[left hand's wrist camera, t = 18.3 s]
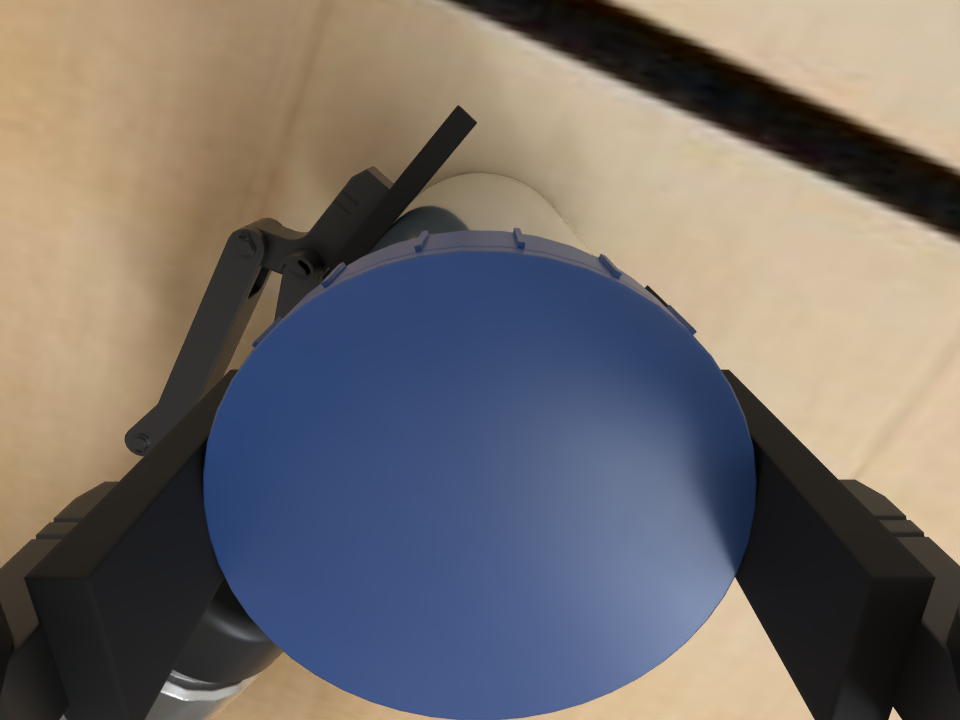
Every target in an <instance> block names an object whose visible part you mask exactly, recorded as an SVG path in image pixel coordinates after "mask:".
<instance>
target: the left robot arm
mask: <svg viewBox="0 0 960 720" xmlns="http://www.w3.org/2000/svg"><path fill="white" fill-rule="evenodd" d="M721 371H722V373H723V374H724V376H725V377H726V379H727V380H728V382H729V383H730V385H731V387H732V389H733V391H734V393H735V396H736V398H737V400H738V401H739V404H740V407H741V409H742V411H743V413H744V416H745V418H746V422H747V426H748V430H749V433H750V437H751V441H752V444H753V448H754V457H755V467H756V476H757V488H756V506H755V513H754V518H753V523H752V528H751V533H750V538H749V543H748V546H747V548H746V551H745V554H744V557H743V559H742V562H741V565H740V567H739V570H738V572H737V574H736V576H735V578H736V579H737V581H738V583H739V585H740V587H741V588H742V590H743V592H744V594H745V596H746V597H747V599H748V601H749V603H750V605H751V606H752V608H753V610H754V612H755V613H756V615H757V617H758V619H759V621H760V622H761V624H762V626H763V628H764V630H765V631H766V633H767V635H768V637H769V639H770V640H771V642H772V644H773V646H774V648H775V649H776V651H777V653H778V655H779V657H780V658H781V660H782V662H783V664H784V665H785V667H786V669H787V671H788V673H789V674H790V676H791V678H792V680H793V682H794V683H795V685H796V687H797V689H798V691H799V692H800V694H801V696H802V698H803V700H804V701H805V703H806V705H807V707H808V709H809V710H810V712H811V714H812V716H813V717H814V719H815V720H888V719H889V716H890V713H891V710H892V707H894V709H895V710H896V711H897V713H898V714H899V716H900V717H901V718H902V720H960V566H959V565H958V564H957V563H956V562H955V561H954V560H953V559H952V558H951V557H949V556H948V555H947V554H946V553H945V552H944V551H943V550H942V549H941V548H940V547H939V546H938V545H937V544H936V543H934V542H933V541H932V540H931V539H930V538H929V537H924V532H923V531H922V530H920V529H919V528H918V527H917V526H916V525H915V524H914V523H913V522H912V521H911V520H907V519H906V516H905V515H904V514H903V513H902V512H901V511H900V510H899V509H898V508H897V507H896V506H895V505H894V504H893V503H891V502H890V501H889V500H888V499H887V498H886V497H885V496H883V495H881V494H880V493H878V492H876V491H874V490H873V489H871V488H869V487H867V486H865V485H864V484H862V483H860V482H858V481H857V480H838V479H837V478H836V477H835V476H834V475H833V474H832V473H831V472H830V471H829V470H828V469H827V468H826V467H825V466H824V465H823V464H822V463H821V462H820V461H819V460H818V459H817V458H816V457H815V456H814V455H813V454H812V453H811V452H810V451H809V450H808V449H807V448H806V447H805V446H804V445H803V444H802V443H801V442H800V441H799V440H798V439H797V438H796V437H795V436H794V435H793V434H792V433H791V432H790V431H789V430H788V429H787V428H786V427H785V426H784V425H783V424H782V423H781V422H780V421H779V420H778V419H777V418H776V417H775V416H774V415H773V414H772V413H771V412H770V411H769V410H768V409H767V408H766V407H765V406H764V405H763V404H762V403H761V402H760V401H759V400H758V399H757V398H756V397H755V396H754V395H753V393H752V392H751V391H750V390H749V389H748V388H747V387H746V386H745V385H744V384H743V383H742V382H741V381H740V380H739V379H738V378H737V377H736V376H735V375H734V374H733V373H732V372H731V371H730V370H721ZM237 372H238V370H230V371H229V372H228V373H227V374H226V375H225V376H224V377H223V378H222V379H221V380H220V381H219V382H218V383H217V384H216V385H215V386H214V387H213V388H212V389H211V390H210V391H209V392H208V393H207V394H206V395H205V396H204V397H203V398H202V399H201V400H200V401H199V402H198V403H197V404H196V405H195V406H194V407H193V408H192V409H191V410H190V411H189V412H188V413H187V414H186V415H185V416H184V417H183V418H182V419H181V420H180V421H179V422H178V423H177V424H176V425H175V426H174V427H173V428H172V429H171V430H170V431H169V432H168V433H167V434H166V435H165V436H164V437H163V438H162V439H161V440H160V441H159V442H158V443H157V444H156V445H155V446H154V447H153V448H152V449H151V450H150V451H149V452H148V453H147V454H146V455H145V456H144V457H143V458H142V459H141V460H140V461H139V462H138V463H137V464H136V465H135V466H134V467H133V468H132V469H131V470H130V471H129V472H128V473H127V474H126V475H125V476H124V477H123V478H122V479H121V480H120V481H119V482H104V483H102V484H100V485H98V486H97V487H95V488H93V489H91V490H90V491H88V492H86V493H84V494H82V495H81V496H79V497H77V498H75V499H74V500H73V501H72V502H71V503H70V504H69V505H68V506H67V507H66V508H65V509H64V510H62V511H61V512H60V513H59V514H58V515H57V516H56V517H55V518H54V522H50V523H49V524H48V525H46V526H45V527H44V528H43V529H42V530H41V531H40V532H39V533H38V534H37V535H36V539H32V540H30V541H29V542H28V543H27V544H26V545H25V546H24V547H23V548H22V549H21V550H20V551H19V552H18V553H17V554H16V555H14V556H13V557H12V558H11V559H10V560H9V561H8V562H7V563H6V564H5V565H4V566H3V567H2V568H1V569H0V720H60V718H61V717H62V716H63V714H64V713H65V711H66V710H67V709H68V712H69V715H70V718H71V720H145V719H146V717H147V715H148V713H149V711H150V710H151V708H152V706H153V704H154V702H155V701H156V699H157V697H158V695H159V693H160V692H161V690H162V688H163V686H164V684H165V683H166V681H167V679H168V677H169V676H170V674H171V672H172V670H173V668H174V667H175V665H176V663H177V661H178V659H179V658H180V656H181V654H182V652H183V650H184V649H185V647H186V645H187V643H188V641H189V640H190V638H191V636H192V634H193V633H194V631H195V629H196V627H197V625H198V624H199V622H200V620H201V618H202V616H203V615H204V613H205V611H206V609H207V607H208V606H209V604H210V602H211V600H212V598H213V597H214V595H215V593H216V591H217V589H218V588H219V586H220V584H221V582H222V581H223V579H224V577H225V576H224V574H223V572H222V570H221V568H220V566H219V564H218V561H217V558H216V555H215V552H214V549H213V546H212V543H211V540H210V536H209V531H208V525H207V520H206V515H205V509H204V502H203V469H204V462H205V455H206V447H207V441H208V438H209V435H210V431H211V428H212V425H213V421H214V418H215V415H216V412H217V409H218V407H219V405H220V403H221V401H222V399H223V397H224V395H225V393H226V391H227V389H228V387H229V385H230V383H231V380H232V379H233V378H234V376H235V375H236V373H237Z"/></svg>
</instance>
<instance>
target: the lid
mask: <svg viewBox="0 0 960 720" xmlns="http://www.w3.org/2000/svg"><path fill="white" fill-rule="evenodd" d="M695 333H696V330H695V329H694V328H693V327H692V326H691V325H690V324H689V323H688V322H687V321H686V320H685V319H684V318H683V317H682V316H681V315H680V314H679V313H678V312H677V311H676V310H675V309H673V308H672V307H671V306H670V305H669V306H667V307H665V306H664V305H663V304H662V303H661V302H660V301H659V300H658V299H657V298H656V297H655V296H653V295H652V294H651V293H650V292H649V291H647V290H646V289H645V288H644V287H642V286H641V285H640V284H639V283H638V282H636V281H635V280H634V279H633V278H632V277H630V276H628V275H627V274H625V273H624V272H622V271H620V270H619V269H617V268H616V266H615V265H614V264H613V263H612V262H611V261H610V260H609V259H608V258H607V257H606V256H605V255H603V254H601V255H600V256H599V258H598V257H596V256H593V255H591V254H589V253H586V252H584V251H582V250H580V249H577V248H575V247H573V246H570V245H567V244H563V243H560V242H556V241H553V240H549V239H546V238H542V237H539V236H534V235H527V234H522V232H521V230H520V228H514V231H513V232H506V231H480V230H464V231H455V232H447V233H439V234H430V235H429V234H428V231H422V232H421V234H420V236H419V237H418V238H414V239H411V240H407V241H403V242H399V243H395V244H393V245H390V246H388V247H385V248H383V249H380V250H378V251H375V252H373V253H371V254H368V255H366V256H363V257H361V258H360V259H358V260H356V261H354V262H353V263H351V264H349V265H348V266H346V265H345V263H344V262H342V263H341V264H339V265H338V266H337V267H336V268H335V269H334V270H333V271H332V272H331V273H330V274H329V275H328V276H327V277H326V278H325V279H324V280H323V281H322V282H321V284H320V285H318V286H317V287H316V288H314V289H313V290H312V291H311V292H309V293H308V294H307V295H306V296H305V297H304V298H303V299H302V300H301V301H300V302H299V303H298V304H297V305H296V306H295V307H294V308H293V309H292V310H291V311H290V312H289V313H288V314H287V315H286V316H285V317H284V318H283V319H282V318H281V317H279V318H278V319H277V320H276V321H275V322H274V323H273V324H272V325H271V326H270V327H269V328H268V329H267V330H266V331H265V332H264V333H263V334H262V335H261V336H260V337H259V338H258V339H257V340H256V341H255V342H254V343H253V344H252V346H253V347H255V348H254V349H253V351H252V352H251V353H250V355H249V356H248V357H247V359H246V360H245V362H244V363H243V365H242V366H241V367H240V369H239V370H238V372H237V373H236V375H235V376H234V378H233V379H232V380H231V383H230V385H229V387H228V389H227V391H226V393H225V395H224V397H223V399H222V401H221V403H220V405H219V407H218V409H217V412H216V415H215V418H214V421H213V425H212V428H211V431H210V435H209V438H208V441H207V447H206V455H205V462H204V469H203V502H204V509H205V515H206V520H207V525H208V531H209V536H210V540H211V543H212V546H213V549H214V552H215V555H216V558H217V561H218V564H219V566H220V568H221V570H222V572H223V574H224V576H225V578H226V580H227V582H228V584H229V586H230V588H231V590H232V592H233V593H234V595H235V596H236V598H237V599H238V601H239V602H240V604H241V605H242V606H243V608H244V609H245V611H246V612H247V614H248V615H249V616H250V618H251V619H252V620H253V621H254V622H255V623H256V624H257V625H258V627H259V628H260V629H261V630H262V631H263V632H264V633H265V634H266V636H267V637H268V638H269V639H270V640H271V641H273V642H274V643H275V644H276V645H277V646H278V647H279V648H281V649H282V650H283V651H284V652H285V653H286V654H287V655H288V656H290V657H291V658H292V659H293V660H295V661H296V662H298V663H299V664H301V665H302V666H303V667H305V668H306V669H308V670H309V671H311V672H312V673H314V674H315V675H316V676H318V677H320V678H322V679H324V680H326V681H327V682H329V683H331V684H333V685H335V686H337V687H338V688H340V689H342V690H344V691H346V692H349V693H351V694H354V695H356V696H358V697H361V698H363V699H366V700H368V701H370V702H373V703H377V704H380V705H383V706H386V707H390V708H393V709H396V710H400V711H404V712H409V713H414V714H419V715H424V716H429V717H437V718H446V719H456V720H502V719H514V718H524V717H530V716H535V715H541V714H546V713H552V712H556V711H559V710H563V709H566V708H570V707H573V706H577V705H580V704H583V703H586V702H589V701H591V700H594V699H596V698H599V697H601V696H604V695H606V694H609V693H611V692H613V691H615V690H617V689H619V688H621V687H623V686H625V685H627V684H629V683H630V682H632V681H634V680H636V679H638V678H640V677H641V676H643V675H644V674H646V673H647V672H649V671H650V670H652V669H653V668H655V667H656V666H658V665H659V664H661V663H662V662H664V661H665V660H666V659H667V658H668V657H670V656H671V655H672V654H673V653H674V652H675V651H677V650H678V649H679V648H680V647H681V646H683V645H684V644H685V643H686V642H687V641H688V640H689V639H690V638H691V637H692V636H693V635H694V634H695V633H696V632H697V630H698V629H699V628H700V627H701V626H702V625H703V624H704V623H705V622H706V621H707V620H708V618H709V617H710V615H711V614H712V613H713V611H714V610H715V609H716V607H717V606H718V604H719V603H720V602H721V600H722V599H723V597H724V596H725V594H726V592H727V590H728V589H729V587H730V585H731V583H732V581H733V579H734V577H735V576H736V574H737V572H738V570H739V567H740V565H741V562H742V559H743V557H744V554H745V551H746V548H747V546H748V543H749V538H750V533H751V528H752V523H753V518H754V513H755V506H756V488H757V476H756V467H755V457H754V448H753V444H752V441H751V437H750V433H749V430H748V426H747V422H746V418H745V416H744V413H743V411H742V409H741V407H740V404H739V401H738V400H737V398H736V396H735V393H734V391H733V389H732V387H731V385H730V383H729V382H728V380H727V379H726V377H725V376H724V374H723V373H722V371H721V370H720V368H719V367H718V365H717V364H716V362H715V360H714V359H713V357H712V356H711V355H710V354H709V353H708V352H707V351H706V349H705V348H704V347H703V346H702V345H701V344H700V343H699V342H698V340H697V339H696V338H695V337H694V336H693V335H694V334H695Z"/></svg>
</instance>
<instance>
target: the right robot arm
mask: <svg viewBox="0 0 960 720" xmlns="http://www.w3.org/2000/svg"><path fill="white" fill-rule="evenodd" d="M476 124H477V122H476V121H475V120H474V119H473V118H472V117H471V116H470V115H469V114H468V113H467V112H465V111H464V110H463V109H462V108H461V107H460V106H459V105H458V106H457V107H456V108H455V109H454V111H453V112H452V113H451V114H450V116H449V117H448V118H447V119H446V120H445V122H444V123H443V124H442V125H441V127H440V128H439V129H438V130H437V132H436V133H435V134H434V135H433V136H432V138H431V139H430V140H429V141H428V143H427V144H426V145H425V146H424V148H423V149H422V150H421V151H420V152H419V154H418V155H417V156H416V157H415V159H414V160H413V161H412V162H411V164H410V165H409V166H408V167H407V169H406V170H405V171H404V172H403V173H402V175H401V176H400V177H399V178H398V180H397V181H396V182H395V183H394V184H393V183H392V182H391V181H390V180H389V179H387V178H386V177H385V176H384V175H383V174H382V173H381V172H380V171H378V170H377V169H376V168H375V167H374V166H373V167H371V168H369V169H366V170H365V171H363V172H361V173H359V174H357V175H355V176H353V177H352V178H351V179H350V181H349V182H348V183H347V184H346V186H345V187H344V188H343V189H342V191H341V192H340V193H339V195H338V196H337V197H336V198H335V200H334V201H333V202H332V203H331V205H330V206H329V207H328V209H327V210H326V211H325V212H324V214H323V215H322V216H321V217H320V219H319V220H318V221H317V223H316V224H315V225H314V226H313V228H312V229H311V230H310V231H309V232H297V231H294V230H291V229H288V228H286V227H283V226H282V225H281V224H280V223H279V222H278V221H277V220H274V219H271V218H263V219H261V220H259V221H256V222H254V223H252V224H249V225H247V226H245V227H243V228H241V229H239V230H237V231H235V232H233V233H232V234H231V236H230V237H229V239H228V241H227V243H226V246H225V248H224V250H223V253H222V255H221V257H220V260H219V262H218V264H217V267H216V269H215V271H214V274H213V276H212V278H211V281H210V283H209V285H208V288H207V290H206V292H205V295H204V297H203V299H202V302H201V304H200V306H199V309H198V311H197V314H196V316H195V318H194V321H193V323H192V325H191V328H190V330H189V332H188V335H187V337H186V339H185V342H184V344H183V346H182V349H181V351H180V353H179V356H178V358H177V360H176V363H175V365H174V367H173V370H172V372H171V374H170V377H169V379H168V381H167V384H166V386H165V388H164V391H163V393H162V395H161V398H160V400H159V402H158V405H156V406H155V407H154V408H153V409H152V410H151V411H150V412H149V413H148V414H146V415H145V416H144V417H143V418H142V419H141V420H140V421H139V422H138V423H137V424H135V425H134V426H133V427H132V428H131V429H130V430H129V431H128V432H127V434H126V435H125V443H126V446H127V447H128V449H129V450H130V451H131V452H133V453H134V454H136V455H139V456H145V455H146V454H147V453H148V452H149V451H150V450H151V449H152V448H153V447H154V446H155V445H156V444H157V443H158V442H159V441H160V440H161V439H162V438H163V437H164V436H165V435H166V434H167V433H168V432H169V431H170V430H171V429H172V428H173V427H174V426H175V425H176V424H177V423H178V422H179V421H180V420H181V419H182V418H183V417H184V416H185V415H186V414H187V413H188V412H189V411H190V410H191V409H192V408H193V407H194V406H195V405H196V404H197V403H198V402H199V401H200V400H201V399H202V398H203V397H204V396H205V395H206V394H207V393H208V392H209V391H210V390H211V389H212V388H213V387H214V386H215V385H216V384H217V383H218V382H219V381H220V380H221V379H222V378H223V376H224V374H225V371H226V369H227V367H228V365H229V363H230V361H231V358H232V356H233V354H234V352H235V350H236V348H237V345H238V343H239V341H240V339H241V337H242V335H243V332H244V330H245V328H246V326H247V324H248V322H249V319H250V317H251V315H252V313H253V311H254V309H255V306H256V304H257V302H258V300H259V298H260V296H261V293H262V291H263V289H264V287H265V285H266V283H267V280H268V278H269V276H270V274H271V272H272V271H275V272H277V273H280V274H283V275H282V280H281V286H280V292H279V297H278V303H277V309H276V314H275V320H274V322H275V321H276V320H277V319H278V318H279V317H281V318H282V319H283V318H284V317H285V316H286V315H287V314H288V313H289V312H290V311H291V310H292V309H293V308H294V307H295V306H296V305H297V304H298V303H299V302H300V301H301V300H302V299H303V298H304V297H305V296H306V295H307V294H308V293H309V292H311V291H312V290H313V289H314V288H316V287H317V286H318V285H320V284H321V282H322V281H323V280H324V279H325V278H326V277H327V276H328V275H329V274H330V273H331V272H332V271H333V270H334V269H335V268H336V267H337V266H338V265H339V264H341V263H342V262H344V263H345V265H346V266H348V265H349V264H351V263H353V262H354V261H356V260H358V259H360V258H361V257H363V256H366V255H367V254H368V253H369V252H370V251H371V249H372V248H373V247H374V246H375V245H376V244H377V242H378V241H379V240H380V239H381V238H382V237H383V235H384V234H385V233H386V232H387V231H388V229H389V228H390V227H391V226H392V225H393V223H394V222H395V221H396V220H397V219H398V217H399V216H400V215H401V214H402V213H403V211H404V210H405V209H406V208H407V207H408V205H409V204H410V203H411V202H412V201H413V199H414V198H415V197H416V196H417V195H418V193H419V192H420V191H421V190H422V189H423V187H424V186H425V185H426V184H427V183H428V181H429V180H430V179H431V178H432V177H433V175H434V174H435V173H436V172H437V170H438V169H439V168H440V167H441V166H442V164H443V163H444V162H445V161H446V160H447V158H448V157H449V156H450V155H451V154H452V152H453V151H454V150H455V149H456V148H457V146H458V145H459V144H460V143H461V142H462V140H463V139H464V138H465V137H466V136H467V134H468V133H469V132H470V131H471V130H472V128H473V127H474V126H475V125H476ZM645 289H646V290H647V291H649V292H650V293H651V294H652V295H653V296H655V297H656V298H657V299H658V300H659V301H660V302H661V303H662V304H663V305H664V306H665V307H667V306H669V305H668V304H666V303H665V302H664V301H663V300H662V299H661V298H660V297H659V296H658V295H657V294H656V293H655V292H654V291H653V290H652V289H651V288H650V287H649V286H648V285H647V286H646V287H645ZM283 652H284V651H283V650H282V649H281V648H279V647H278V646H277V645H276V644H275V643H274V642H273V641H271V640H270V639H269V638H268V637H267V636H266V634H265V633H264V632H263V631H262V630H261V629H260V628H259V627H258V625H257V624H256V623H255V622H254V621H253V620H252V619H251V618H250V616H249V615H248V614H247V612H246V611H245V609H244V608H243V606H242V605H241V604H240V602H239V601H238V599H237V598H236V596H235V595H234V593H233V592H232V590H231V588H230V586H229V584H228V582H227V580H226V578H225V577H224V579H223V581H222V582H221V584H220V586H219V588H218V589H217V591H216V593H215V595H214V597H213V598H212V600H211V602H210V604H209V606H208V607H207V609H206V611H205V613H204V615H203V616H202V618H201V620H200V622H199V624H198V625H197V627H196V629H195V631H194V633H193V634H192V636H191V638H190V640H189V641H188V643H187V645H186V647H185V649H184V650H183V652H182V654H181V656H180V658H179V659H178V661H177V663H176V665H175V667H174V668H173V670H172V672H171V674H170V676H169V677H168V679H167V681H166V683H165V684H164V686H163V688H162V690H161V692H160V693H159V695H158V697H157V699H156V701H155V702H154V704H153V706H152V708H151V710H150V711H149V713H148V715H147V717H146V719H145V720H213V719H214V718H215V717H216V716H218V715H219V714H220V713H221V712H222V711H223V710H224V709H225V708H226V707H227V706H228V705H229V704H230V703H231V702H232V701H234V700H235V699H236V698H237V697H238V696H239V695H240V694H241V693H242V692H243V691H244V690H245V689H246V688H247V687H248V686H249V685H251V683H252V682H253V681H254V680H255V679H256V678H257V677H258V676H259V675H260V674H261V672H262V671H263V670H264V669H266V668H267V667H268V666H269V665H270V664H271V663H272V662H273V661H274V660H275V659H276V658H277V657H278V656H279V655H280V654H282V653H283ZM60 720H71V718H70V715H69V712H68V709H67V710H66V711H65V713H64V714H63V716H62V717H61V718H60Z"/></svg>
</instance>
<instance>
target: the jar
mask: <svg viewBox="0 0 960 720" xmlns="http://www.w3.org/2000/svg"><path fill="white" fill-rule="evenodd" d="M514 228H520V230H521V232H522V234H527V235H534V236H539V237H542V238H546V239H549V240H553V241H556V242H560V243H563V244H567V245H570V246H573V247H575V248H577V249H580V250H582V251H584V252H586V253H589V254H591V255H592V253H591V252H590V251H589V250H588V249H587V247H586V246H585V245H584V244H583V243H582V241H581V240H580V239H579V238H578V237H577V235H576V234H575V233H574V232H573V231H572V229H571V228H570V227H569V226H568V225H567V223H566V222H565V221H564V220H563V219H562V217H561V216H560V215H559V214H558V213H557V211H556V210H555V209H554V208H553V207H552V206H551V205H550V204H549V202H548V201H547V200H546V199H545V198H544V197H542V196H541V195H540V194H539V193H538V192H536V191H535V190H534V189H532V188H530V187H529V186H527V185H525V184H524V183H522V182H519V181H517V180H515V179H512V178H509V177H505V176H502V175H497V174H490V173H470V174H463V175H458V176H454V177H451V178H447V179H445V180H443V181H441V182H438V183H436V184H434V185H433V186H431V187H430V188H428V189H426V190H425V191H423V192H422V193H421V194H420V195H419V196H417V197H416V198H415V199H414V200H413V201H412V202H411V203H410V204H409V206H408V207H407V208H406V209H405V210H404V211H403V213H402V214H401V215H400V216H399V217H398V219H397V220H396V221H395V222H394V223H393V225H392V226H391V227H390V228H389V229H388V231H387V232H386V233H385V234H384V235H383V237H382V238H381V239H380V240H379V241H378V242H377V244H376V245H375V246H374V247H373V248H372V249H371V251H370V252H369V253H368V254H371V253H373V252H375V251H378V250H380V249H383V248H385V247H388V246H390V245H393V244H395V243H399V242H403V241H407V240H411V239H414V238H418V237H419V236H420V234H421V232H422V231H428V234H429V235H430V234H439V233H447V232H455V231H464V230H480V231H506V232H513V231H514ZM368 254H367V255H368Z"/></svg>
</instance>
